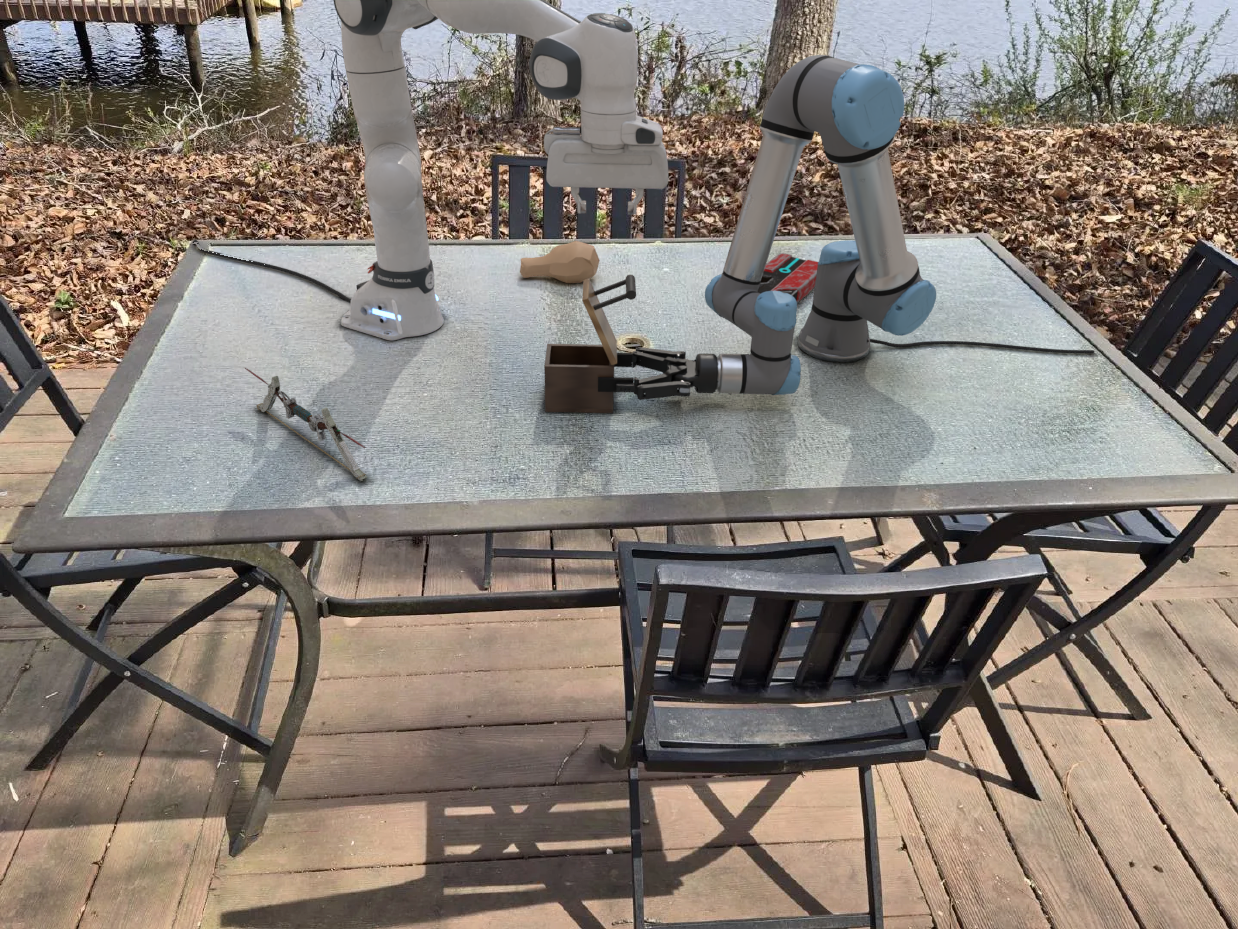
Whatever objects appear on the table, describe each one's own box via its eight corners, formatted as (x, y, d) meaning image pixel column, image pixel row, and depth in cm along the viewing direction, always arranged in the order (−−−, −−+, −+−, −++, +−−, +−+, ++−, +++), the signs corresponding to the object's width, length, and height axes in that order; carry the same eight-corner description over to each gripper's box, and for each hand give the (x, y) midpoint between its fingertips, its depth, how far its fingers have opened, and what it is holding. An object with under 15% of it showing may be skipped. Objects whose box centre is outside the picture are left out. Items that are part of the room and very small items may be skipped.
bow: (377, 484, 144) (369, 432, 138) (368, 488, 143) (359, 436, 137) (258, 401, 165) (247, 353, 160) (249, 404, 164) (237, 356, 158)
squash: (601, 287, 216) (596, 255, 210) (521, 294, 218) (514, 262, 211) (602, 264, 224) (597, 232, 218) (524, 271, 225) (518, 240, 219)
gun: (708, 284, 207) (784, 305, 199) (760, 245, 229) (831, 262, 221) (706, 302, 209) (781, 323, 201) (758, 261, 231) (828, 278, 223)
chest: (545, 411, 165) (544, 366, 159) (548, 387, 173) (547, 343, 167) (613, 413, 165) (614, 367, 160) (612, 389, 173) (613, 344, 168)
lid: (582, 300, 152) (630, 281, 151) (583, 279, 160) (629, 262, 158) (611, 365, 160) (658, 348, 158) (611, 342, 167) (655, 326, 166)
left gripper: (542, 131, 138) (544, 217, 146) (671, 133, 139) (667, 220, 146) (544, 121, 143) (546, 205, 151) (669, 124, 144) (665, 208, 151)
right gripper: (721, 420, 159) (597, 418, 158) (709, 364, 177) (598, 362, 177) (724, 384, 155) (597, 381, 154) (712, 330, 173) (599, 328, 173)
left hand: (606, 213), depth 149 cm, fingers open, 7 cm apart
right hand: (598, 371), depth 165 cm, fingers closed on chest, 9 cm apart
